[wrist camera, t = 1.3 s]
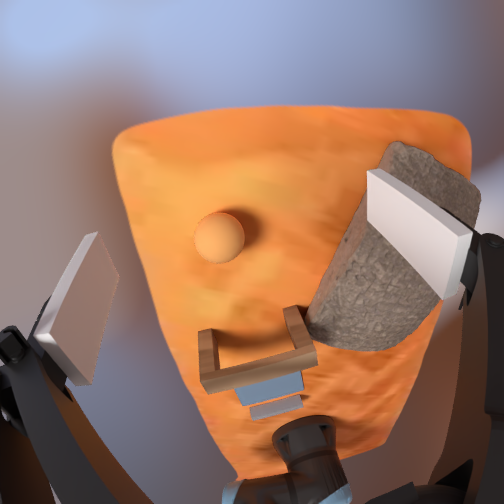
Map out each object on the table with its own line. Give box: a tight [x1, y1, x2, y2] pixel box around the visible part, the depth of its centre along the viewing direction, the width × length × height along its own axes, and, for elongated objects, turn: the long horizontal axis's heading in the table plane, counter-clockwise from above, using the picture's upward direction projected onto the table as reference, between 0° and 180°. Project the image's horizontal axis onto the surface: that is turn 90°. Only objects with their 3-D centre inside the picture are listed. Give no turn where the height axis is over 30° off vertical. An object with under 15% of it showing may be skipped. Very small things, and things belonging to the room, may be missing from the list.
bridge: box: [198, 305, 318, 394], centre depth 39 cm, size 3×14×9 cm, turn 103°
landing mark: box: [234, 371, 304, 406], centre depth 50 cm, size 12×12×1 cm
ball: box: [194, 212, 245, 263], centre depth 33 cm, size 6×6×6 cm
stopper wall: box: [250, 394, 303, 421], centre depth 53 cm, size 1×10×2 cm, turn 103°
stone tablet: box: [304, 141, 481, 351], centre depth 38 cm, size 20×8×30 cm
